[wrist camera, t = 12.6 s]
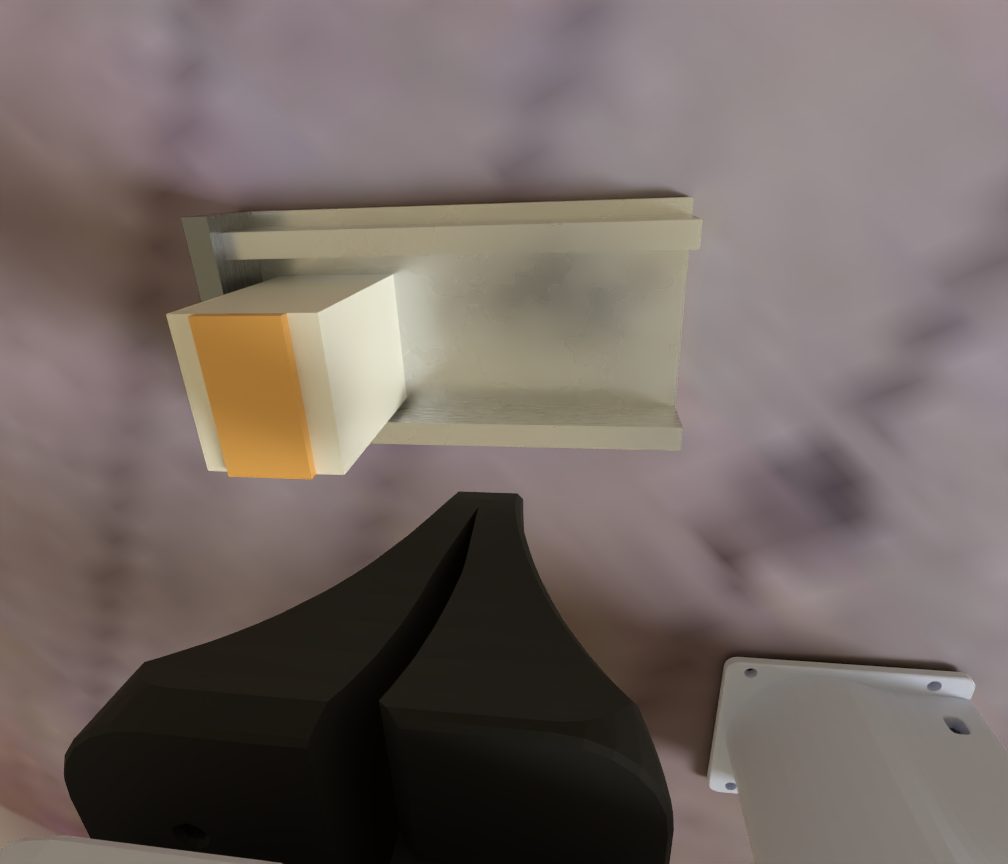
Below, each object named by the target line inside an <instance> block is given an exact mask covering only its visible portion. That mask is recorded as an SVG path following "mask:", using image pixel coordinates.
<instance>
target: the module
mask: <svg viewBox="0 0 1008 864" xmlns="http://www.w3.org/2000/svg"><path fill="white" fill-rule="evenodd" d="M166 316H167V320H168V324H169V327H170V331H171V335H172V339H173V342H174V346H175V350H176V353H177V357H178V361H179V365H180V368H181V372H182V376H183V379H184V383H185V387H186V391H187V394H188V398H189V402H190V405H191V409H192V413H193V417H194V420H195V424H196V428H197V432H198V435H199V439H200V443H201V446H202V450H203V454H204V458H205V461H206V465H207V469H208V471H227V472H228V476H229V477H256V478H288V479H312V478H313V477H314V476H315V475H316V474H331V475H345V474H346V472H347V471H348V470H349V469H350V467H351V466H352V465H353V464H354V462H355V461H356V460H357V459H358V457H359V456H360V455H361V454H362V453H363V451H364V450H365V449H366V448H367V446H368V445H369V444H370V443H371V441H372V440H373V439H374V438H375V436H376V435H377V434H378V433H379V432H380V430H381V429H382V428H383V427H384V425H385V424H386V423H387V422H388V420H389V419H390V418H391V417H392V415H393V414H394V413H395V412H396V411H397V409H398V408H399V407H400V406H401V404H402V403H403V402H404V401H405V399H406V398H407V395H406V386H405V377H404V368H403V358H402V349H401V340H400V331H399V322H398V313H397V304H396V294H395V285H394V276H393V274H369V275H311V276H279V277H276V278H273V279H270V280H267V281H264V282H261V283H258V284H255V285H252V286H249V287H246V288H243V289H240V290H237V291H234V292H231V293H228V294H225V295H222V296H219V297H216V298H213V299H210V300H207V301H204V302H201V303H198V304H195V305H192V306H189V307H186V308H183V309H180V310H177V311H173V312H170V313H167V314H166Z"/></svg>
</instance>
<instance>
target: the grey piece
mask: <svg viewBox="0 0 1008 864" xmlns="http://www.w3.org/2000/svg"><path fill="white" fill-rule="evenodd" d="M693 198H694V197H662V198H631V199H601V200H571V201H541V202H511V203H481V204H451V205H421V206H391V207H361V208H330V209H300V210H270V211H240V212H228V213H219V214H209V215H200V216H190V217H181V220H182V224H183V228H184V233H185V237H186V241H187V245H188V249H189V253H190V257H191V261H192V266H193V270H194V274H195V278H196V282H197V286H198V290H199V294H200V299H201V302H204V301H207V300H210V299H213V298H216V297H219V296H222V295H225V294H228V293H231V292H234V291H237V290H240V289H243V288H246V287H249V286H252V285H255V284H258V283H261V282H264V281H267V280H270V279H273V278H276V277H279V276H311V275H369V274H393V276H394V285H395V294H396V304H397V313H398V322H399V331H400V340H401V349H402V358H403V368H404V377H405V386H406V395H407V398H406V399H405V401H404V402H403V403H402V404H401V406H400V407H399V408H398V409H397V411H396V412H395V413H394V414H393V415H392V417H391V418H390V419H389V420H388V422H387V423H386V424H385V425H384V427H383V428H382V429H381V430H380V432H379V433H378V434H377V435H376V436H375V438H374V439H373V440H372V441H371V443H375V444H418V445H461V446H504V447H547V448H590V449H633V450H676V451H681V442H682V432H683V427H682V424H681V421H680V419H679V416H678V413H677V411H676V408H675V403H676V391H677V380H678V369H679V357H680V346H681V334H682V323H683V312H684V300H685V289H686V277H687V266H688V255H689V250H700V242H701V232H702V221H703V219H701V218H698V217H696V216H693V215H692V209H693Z"/></svg>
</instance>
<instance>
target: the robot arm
mask: <svg viewBox="0 0 1008 864" xmlns="http://www.w3.org/2000/svg"><path fill="white" fill-rule="evenodd" d="M750 668H753V669H752V670H749V671H747V669H750ZM931 682H932V683H931ZM974 689H975V683H974V682H973V680H972V679H971V678H970V676H969V675H967V674H966V673H963V672H953V671H938V670H924V669H909V668H894V667H880V666H865V665H850V664H836V663H821V662H806V661H792V660H777V659H762V658H748V657H732V658H730V659H728V660H727V661H726V662H725V664H724V669H723V676H722V682H721V689H720V695H719V702H718V708H717V715H716V721H715V728H714V734H713V741H712V748H711V754H710V761H709V767H708V774H707V780H708V786H709V787H710V788H711V789H712V790H714V791H718V792H726V793H737V794H738V795H739V799H740V803H741V807H742V811H743V815H744V819H745V824H746V828H747V832H748V836H749V840H750V844H751V848H752V852H753V856H754V861H755V864H1008V751H1007V749H1006V748H1005V746H1004V745H1003V744H1002V742H1001V741H1000V740H999V738H998V737H997V735H996V734H995V733H994V731H993V730H992V729H991V727H990V726H989V724H988V723H987V722H986V720H985V719H984V718H983V716H982V715H981V714H980V712H979V711H978V709H977V708H976V707H975V705H974V704H973V703H972V701H971V700H970V699H971V697H972V694H973V692H974ZM64 779H65V783H66V786H67V789H68V792H69V795H70V798H71V800H72V802H73V804H74V806H75V808H76V810H77V812H78V814H79V816H80V818H81V820H82V822H83V824H84V826H85V828H86V830H87V832H88V834H89V836H90V838H91V839H90V838H82V837H74V836H66V835H57V836H44V837H29V838H23V839H19V840H15V841H11V842H8V843H7V844H6V845H5V846H4V847H3V848H2V849H1V850H0V864H669V862H670V854H671V846H672V838H673V830H674V828H673V810H672V804H671V799H670V795H669V791H668V787H667V783H666V780H665V776H664V773H663V770H662V767H661V764H660V761H659V758H658V755H657V752H656V750H655V747H654V744H653V742H652V739H651V737H650V734H649V732H648V729H647V727H646V725H645V722H644V720H643V718H642V715H641V713H640V711H639V708H638V706H637V705H636V704H635V703H634V702H633V701H632V700H631V699H630V698H629V697H627V696H626V695H625V694H624V693H623V692H622V691H621V690H620V689H619V688H618V687H617V686H616V685H615V684H614V683H613V682H612V681H611V680H610V679H609V677H608V676H607V675H606V674H605V673H604V672H603V671H602V670H601V669H600V667H599V666H598V665H597V664H596V663H595V662H594V661H593V659H592V658H591V657H590V656H589V655H588V653H587V652H586V651H585V649H584V648H583V647H582V645H581V644H580V643H579V641H578V640H577V639H576V637H575V636H574V634H573V633H572V632H571V630H570V629H569V628H568V626H567V625H566V624H565V622H564V620H563V619H562V617H561V615H560V614H559V612H558V611H557V609H556V607H555V606H554V604H553V602H552V600H551V598H550V597H549V595H548V593H547V591H546V589H545V587H544V585H543V583H542V581H541V579H540V576H539V574H538V572H537V569H536V567H535V564H534V562H533V559H532V556H531V554H530V551H529V547H528V544H527V541H526V537H525V534H524V522H523V499H522V498H521V497H520V496H519V495H518V494H512V493H484V492H458V493H457V494H455V495H454V496H453V497H452V498H451V499H450V500H448V501H447V502H446V503H445V504H444V505H443V506H442V507H440V508H439V509H438V510H437V511H436V512H435V513H434V514H433V515H431V516H430V517H429V518H428V519H427V520H426V521H425V522H423V523H422V524H421V525H420V526H419V527H417V528H416V529H415V530H414V531H413V532H412V533H410V534H409V535H408V536H407V537H405V538H404V539H403V540H402V541H400V542H399V543H398V544H396V545H395V546H394V547H392V548H391V549H390V550H388V551H387V552H386V553H384V554H383V555H382V556H380V557H379V558H378V559H376V560H375V561H374V562H372V563H371V564H369V565H368V566H366V567H365V568H363V569H362V570H360V571H359V572H357V573H355V574H354V575H352V576H351V577H349V578H347V579H346V580H344V581H342V582H341V583H339V584H337V585H336V586H334V587H332V588H330V589H329V590H327V591H325V592H323V593H321V594H319V595H317V596H315V597H313V598H311V599H309V600H307V601H305V602H303V603H301V604H299V605H297V606H295V607H293V608H291V609H289V610H287V611H285V612H283V613H281V614H279V615H277V616H274V617H272V618H270V619H267V620H265V621H263V622H260V623H258V624H256V625H253V626H251V627H248V628H246V629H243V630H240V631H238V632H235V633H233V634H230V635H228V636H225V637H222V638H219V639H217V640H214V641H211V642H208V643H205V644H202V645H198V646H195V647H192V648H189V649H186V650H183V651H180V652H177V653H173V654H170V655H167V656H164V657H161V658H157V659H154V660H150V661H147V662H144V663H143V664H142V665H141V666H140V667H139V669H138V670H137V671H136V672H135V673H134V674H133V675H132V676H131V677H130V678H129V679H128V680H127V682H126V683H125V684H124V685H123V686H122V687H121V688H120V689H119V690H118V691H117V692H116V694H115V695H114V696H113V697H112V698H111V699H110V700H109V701H108V702H107V703H106V705H105V706H104V707H103V708H102V709H101V710H100V711H99V712H98V713H97V714H96V715H95V717H94V718H93V719H92V720H91V721H90V722H89V723H88V724H87V725H86V726H85V728H84V729H83V730H82V731H81V732H80V733H79V734H78V735H77V736H76V737H75V739H74V740H73V741H72V743H71V745H70V747H69V748H68V750H67V752H66V754H65V761H64Z"/></svg>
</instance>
